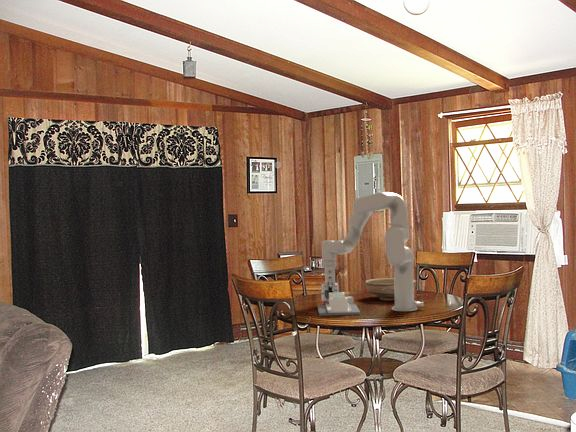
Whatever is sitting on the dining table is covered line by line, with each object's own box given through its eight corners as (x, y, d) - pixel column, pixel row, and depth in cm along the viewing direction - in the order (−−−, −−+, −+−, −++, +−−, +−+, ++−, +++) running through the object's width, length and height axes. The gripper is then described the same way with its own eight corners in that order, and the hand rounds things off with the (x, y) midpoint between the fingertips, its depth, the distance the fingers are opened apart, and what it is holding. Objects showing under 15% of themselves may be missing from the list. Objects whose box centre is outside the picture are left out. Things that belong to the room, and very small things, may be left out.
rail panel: (355, 306, 334) (355, 291, 334) (360, 314, 309) (360, 298, 309) (317, 307, 335) (317, 292, 335) (319, 315, 310) (318, 299, 310)
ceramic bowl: (366, 294, 380) (366, 277, 380) (415, 293, 375) (415, 276, 375) (363, 303, 344) (363, 285, 343) (417, 303, 339) (417, 284, 339)
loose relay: (350, 303, 345) (350, 296, 345) (353, 304, 342) (353, 297, 342) (343, 304, 344) (343, 296, 344) (346, 305, 340) (346, 297, 340)
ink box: (323, 306, 337) (322, 284, 337) (321, 305, 342) (320, 283, 342) (339, 305, 338) (338, 283, 338) (337, 304, 343) (336, 282, 343)
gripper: (337, 264, 331) (338, 299, 331) (335, 261, 348) (336, 295, 349) (322, 265, 331) (323, 300, 331) (321, 262, 348) (322, 295, 349)
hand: (330, 297), depth 340 cm, fingers closed on ink box, 5 cm apart
